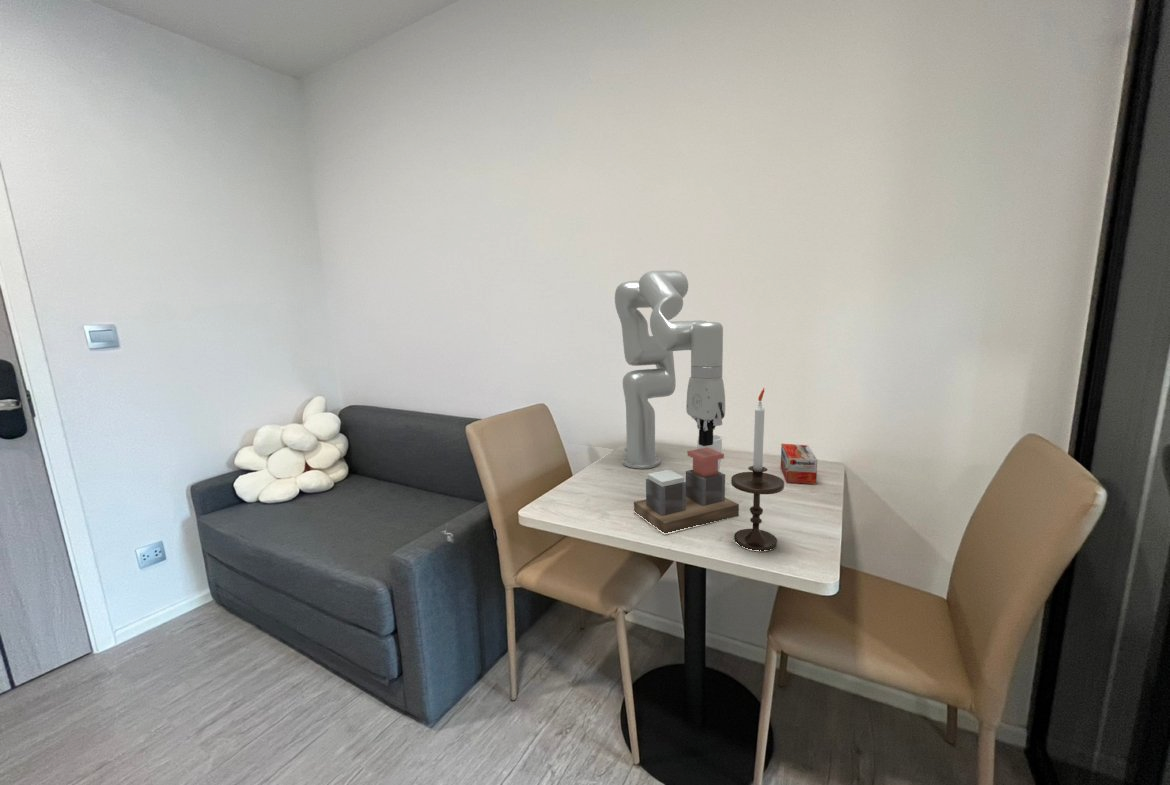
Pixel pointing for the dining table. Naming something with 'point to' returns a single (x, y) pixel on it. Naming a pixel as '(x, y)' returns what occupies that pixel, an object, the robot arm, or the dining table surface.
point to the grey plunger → (665, 478)
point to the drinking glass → (714, 446)
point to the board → (686, 503)
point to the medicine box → (798, 464)
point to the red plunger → (705, 461)
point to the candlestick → (757, 490)
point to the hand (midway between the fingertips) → (705, 444)
